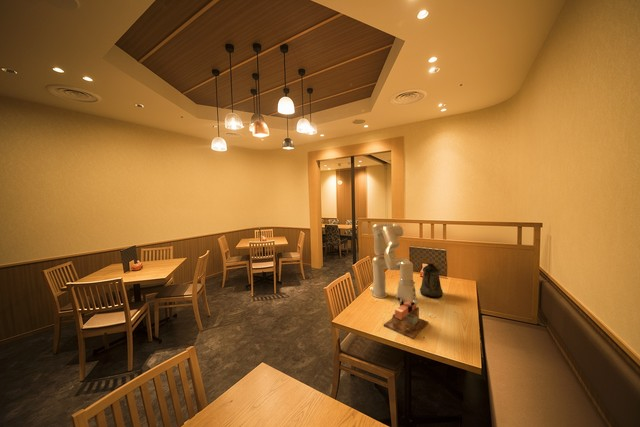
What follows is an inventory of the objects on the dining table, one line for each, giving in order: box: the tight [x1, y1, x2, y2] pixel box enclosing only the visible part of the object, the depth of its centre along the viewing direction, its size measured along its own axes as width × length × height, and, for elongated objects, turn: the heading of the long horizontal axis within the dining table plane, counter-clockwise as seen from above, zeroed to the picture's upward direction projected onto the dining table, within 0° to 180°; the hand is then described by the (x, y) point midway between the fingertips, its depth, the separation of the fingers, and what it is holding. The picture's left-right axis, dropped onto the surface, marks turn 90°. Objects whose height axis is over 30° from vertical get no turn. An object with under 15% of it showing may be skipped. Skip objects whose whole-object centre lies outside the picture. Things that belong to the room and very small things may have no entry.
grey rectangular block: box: [406, 314, 417, 326], centre depth 136 cm, size 12×4×6 cm, turn 39°
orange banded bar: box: [394, 300, 417, 320], centre depth 136 cm, size 4×20×5 cm, turn 133°
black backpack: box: [419, 263, 444, 300], centre depth 176 cm, size 16×19×25 cm
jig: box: [383, 306, 429, 340], centre depth 136 cm, size 18×22×9 cm
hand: (406, 310), depth 136 cm, fingers open, 4 cm apart
